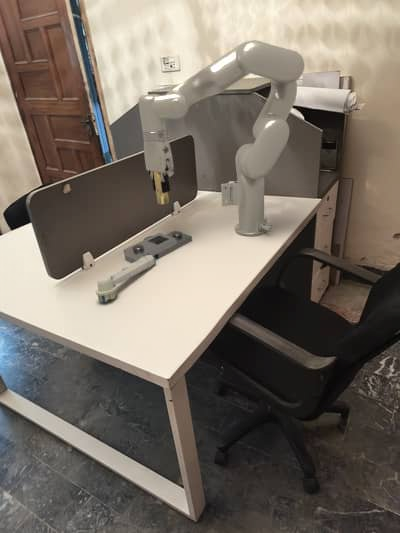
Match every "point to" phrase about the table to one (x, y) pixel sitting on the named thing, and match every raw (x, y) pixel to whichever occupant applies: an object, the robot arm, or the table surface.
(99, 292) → the toothbrush head
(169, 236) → the plate
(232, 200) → the hinge
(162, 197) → the brass pin
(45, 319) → the table surface
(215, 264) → the table surface
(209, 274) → the table surface
